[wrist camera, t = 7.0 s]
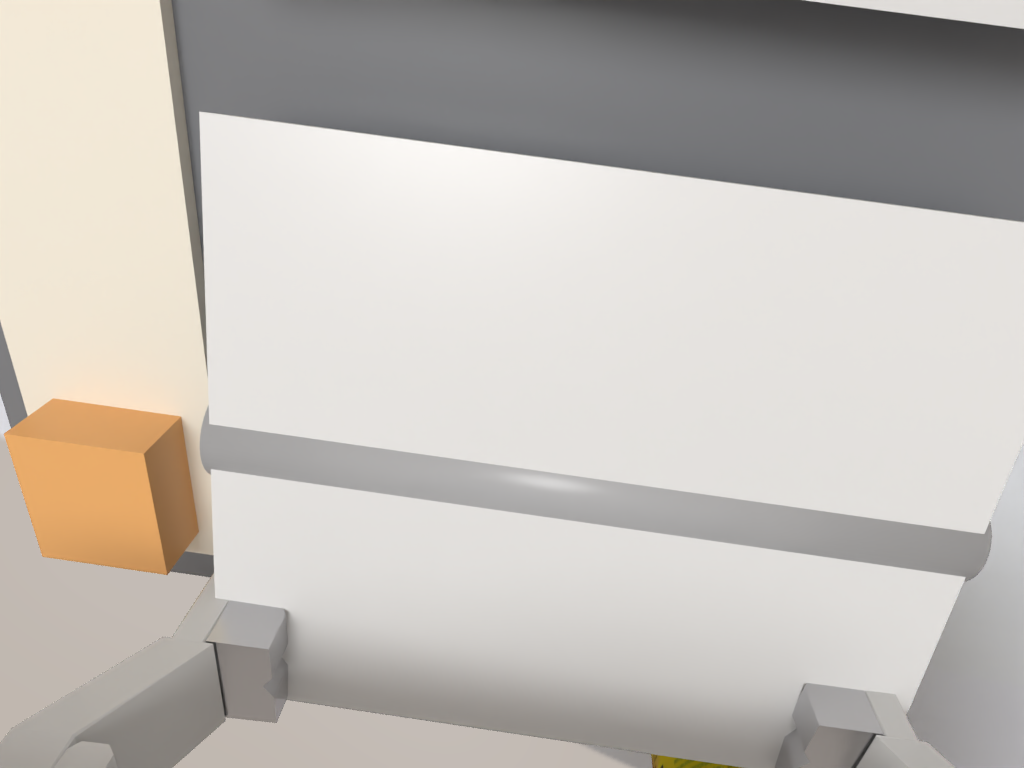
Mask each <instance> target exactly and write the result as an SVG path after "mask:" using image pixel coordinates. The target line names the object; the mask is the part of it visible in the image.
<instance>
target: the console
mask: <svg viewBox="0 0 1024 768" xmlns="http://www.w3.org/2000/svg"><path fill="white" fill-rule="evenodd" d="M199 112H208V113H216V114H225V115H233V116H242V117H250V118H257V119H265V120H272V121H279V122H287V123H294V124H302V125H309V126H317V127H324V128H331V129H339V130H346V131H354V132H361V133H369V134H376V135H384V136H391V137H398V138H406V139H413V140H421V141H428V142H436V143H443V144H450V145H458V146H465V147H473V148H480V149H488V150H495V151H502V152H510V153H517V154H525V155H532V156H540V157H547V158H554V159H562V160H569V161H577V162H584V163H592V164H599V165H607V166H614V167H621V168H629V169H636V170H644V171H651V172H659V173H666V174H673V175H681V176H688V177H696V178H703V179H711V180H718V181H725V182H733V183H740V184H748V185H755V186H763V187H770V188H778V189H785V190H792V191H800V192H807V193H815V194H822V195H830V196H837V197H844V198H852V199H859V200H867V201H874V202H882V203H889V204H896V205H904V206H911V207H919V208H926V209H934V210H941V211H949V212H956V213H963V214H971V215H978V216H986V217H993V218H1001V219H1008V220H1015V221H1023V222H1024V29H1021V28H1013V27H1005V26H998V25H990V24H982V23H975V22H967V21H959V20H951V19H944V18H936V17H928V16H921V15H913V14H905V13H898V12H890V11H882V10H874V9H867V8H859V7H851V6H844V5H836V4H828V3H821V2H813V1H805V0H0V393H1V397H2V400H3V403H4V406H5V410H6V413H7V416H8V419H9V423H10V426H11V429H10V430H8V431H7V432H6V433H4V436H5V439H6V442H7V445H8V448H9V452H10V455H11V458H12V461H13V464H14V468H15V471H16V474H17V477H18V480H19V483H20V487H21V489H22V493H23V496H24V499H25V502H26V505H27V509H28V512H29V515H30V518H31V522H32V525H33V527H34V531H35V534H36V537H37V541H38V543H39V547H40V550H41V553H42V556H43V557H48V558H55V559H62V560H68V561H76V562H82V563H89V564H96V565H103V566H110V567H116V568H123V569H131V570H137V571H144V572H151V573H158V574H164V575H168V573H169V572H170V571H171V572H178V573H186V574H192V575H199V576H206V577H211V576H212V575H213V573H214V553H213V522H212V492H211V475H210V474H209V473H207V472H206V470H205V469H204V467H203V465H202V461H201V457H200V434H201V427H202V423H203V419H204V416H205V412H206V410H207V407H208V405H209V399H208V368H207V337H206V306H205V276H204V245H203V214H202V183H201V152H200V121H199Z"/></svg>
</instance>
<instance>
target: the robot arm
mask: <svg viewBox="0 0 1024 768" xmlns="http://www.w3.org/2000/svg"><path fill="white" fill-rule="evenodd" d="M287 645H288V635H287V624H286V615H285V612H284V609H283V608H277V607H271V606H264V605H258V604H251V603H245V602H238V601H232V600H230V601H229V600H225V599H219V598H215V584H214V573H213V575H212V576H211V578H210V580H209V581H208V582H207V584H206V586H205V587H204V588H203V590H202V592H201V593H200V595H199V596H198V598H197V599H196V601H195V602H194V604H193V606H192V607H191V608H190V610H189V612H188V613H187V615H186V616H185V618H184V619H183V621H182V622H181V624H180V625H179V627H178V629H177V630H176V632H175V633H174V635H173V636H172V638H170V637H162V638H160V639H158V640H157V641H155V642H153V643H152V644H150V645H148V646H147V647H145V648H143V649H142V650H140V651H138V652H137V653H135V654H134V655H132V656H130V657H128V658H127V659H125V660H123V661H122V662H120V663H119V664H117V665H115V666H114V667H112V668H111V669H109V670H107V671H105V672H104V673H102V674H100V675H99V676H97V677H95V678H94V679H92V680H90V681H89V682H87V683H85V684H84V685H82V686H80V687H79V688H77V689H75V690H74V691H72V692H71V693H69V694H67V695H66V696H64V697H62V698H61V699H59V700H57V701H56V702H54V703H53V704H51V705H49V706H47V707H46V708H44V709H42V710H41V711H39V712H37V713H36V714H34V715H32V716H31V717H29V718H27V719H26V720H24V721H22V722H21V723H19V724H18V725H16V726H15V727H13V728H11V730H10V731H9V732H8V733H7V735H6V736H5V737H4V739H3V740H2V741H1V742H0V768H172V767H174V766H175V765H176V764H177V763H178V762H179V761H180V760H182V759H183V758H184V757H185V756H186V755H187V754H188V753H190V752H191V751H192V750H193V749H194V748H195V747H196V746H197V745H199V744H200V743H201V742H202V741H203V740H204V739H205V738H206V737H208V736H209V735H210V734H211V733H212V732H213V731H214V730H216V729H217V728H218V727H219V726H220V725H221V724H222V723H224V722H225V720H226V719H225V717H227V718H237V719H246V720H255V721H264V722H274V723H277V721H278V718H279V716H280V714H281V711H282V709H283V706H284V704H285V702H286V699H287V697H288V664H287V663H286V662H285V661H284V659H283V658H282V656H283V654H284V651H285V649H286V647H287ZM792 716H793V719H794V722H795V725H796V728H797V729H795V730H794V731H792V732H791V733H789V734H788V735H786V736H785V737H784V740H783V743H782V746H781V749H780V752H779V755H778V758H777V761H776V764H775V768H956V767H955V766H954V765H952V764H951V763H950V762H949V761H948V760H947V759H946V758H945V757H944V756H942V755H941V754H940V753H939V752H938V751H937V750H936V749H935V748H934V747H932V746H931V745H930V744H929V743H928V742H923V741H918V739H917V737H916V734H915V732H914V730H913V728H912V726H911V724H910V722H909V720H908V718H907V716H906V714H905V712H904V710H903V708H902V706H901V704H900V702H899V700H898V698H897V696H896V695H895V694H890V693H883V692H874V691H865V692H864V691H863V690H856V689H849V688H841V687H834V686H827V685H819V684H811V683H806V685H805V687H804V688H803V690H802V692H801V694H800V696H799V698H798V700H797V702H796V705H795V708H794V711H793V714H792Z"/></svg>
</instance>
